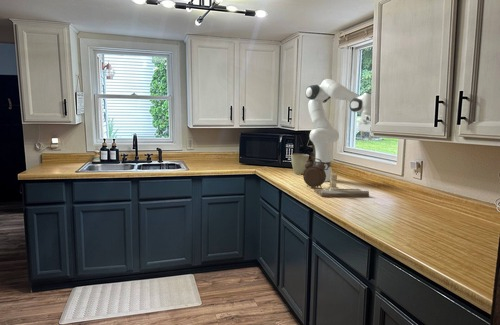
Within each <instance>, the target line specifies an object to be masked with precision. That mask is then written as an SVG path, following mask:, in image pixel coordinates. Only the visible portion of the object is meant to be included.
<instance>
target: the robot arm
mask: <svg viewBox="0 0 500 325" xmlns="http://www.w3.org/2000/svg"><path fill="white" fill-rule="evenodd" d="M371 93H372V92H368V91H365V92H363V93H362V94H361V95H359V94H357V93H356V92H354V91H352V90H350V89H349V88H347V87H346V86H344V85H343V84H341V83H340V82H338V81H336V80H334V79H330V78H325V79H323V81H322V82H321V83H320V84H311V85H308V86H307V87H306V90H305V97H306V98H307V99H309V101H308V103H307V107H308V108H307V109H308V113H309V117H310V120H311V123H312V124H313V126H314V127H315V129H311V131H309V132H310V133H309V140H310V141H311V142H312V144H313V145H314V150H315V158H317V159H320V160H321V161H322V162H324V163H323V164H324V165H325V169H324V171H325V173H326V179H325V182H330V176H331V174H333V169H332V168H331V164H332V162H331V156H332V153H331V152H332V151H331V150H330V149H329V148H328V145H327V144H332V143H336V142H337V141H338V140H339V139H340V133H339V132H338V130H337V129H336V128H334V127H333V126H332V124H331V123H330V121H329V119H328V118H327V115H326V113H325V110H324V107H323V104H324V103H326V102H327V101H328V100H330V99H331V98H332V99H334V100H339V101H348V102H349V109H350V111H351V112H352V113H360V119H359V120H358V124H357V131H358V132H360V136H361V138H360V139H363V140H364V139H365V138H366V136H365V133H368V134H369V136H368V137H367V140H368V141H371V140H373V136H371V135H370V127H371ZM317 159H314V162H313V165H317V164H318V163H321V162H320V160H317ZM314 163H316V164H314Z"/></svg>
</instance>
